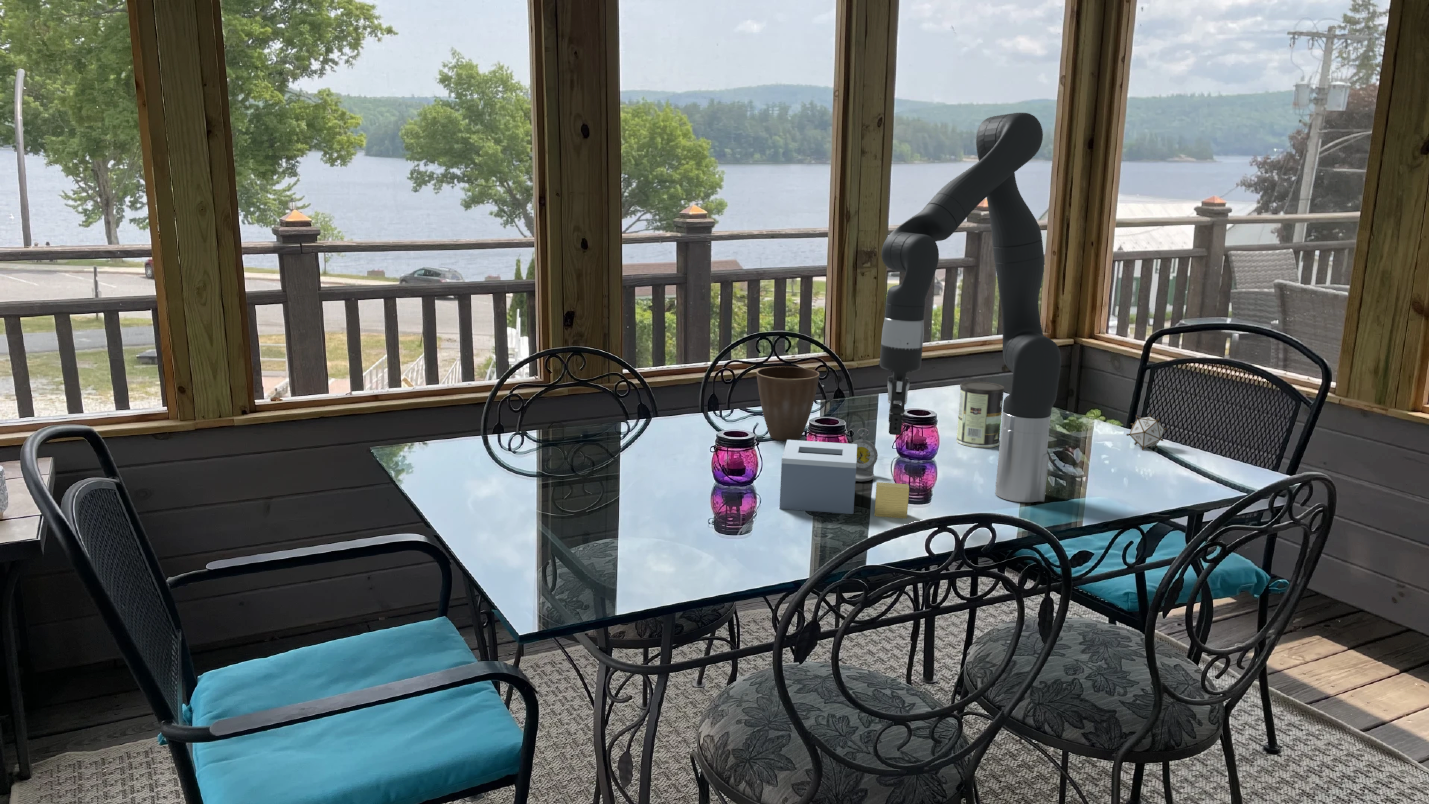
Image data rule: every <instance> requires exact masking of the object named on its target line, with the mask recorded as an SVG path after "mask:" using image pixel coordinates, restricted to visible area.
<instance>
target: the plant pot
mask: <svg viewBox="0 0 1429 804" xmlns="http://www.w3.org/2000/svg"><path fill="white" fill-rule="evenodd" d="M819 380H820V372H819V371H817V370H815V369H814V370H813V369H811V368H806V367H798V366H768V367H762V368H759V369H758V370H757V371H756V381H757V387H758V394H759V401H760V405H761V406H760V407H761V411H762V415H763V417H764V422H765V425H766V429H767V431H768V434H769V437H770V438H771V439H773V440H776V441H780V442H781V441H782V442H787V440H800V439H801V438H802V436H803V434H804V432H805V430H806V426H807V424H808V421H809V418H810V415H811V413H812V410H813V406H814V403H815V399H816V394H817V390H818V385H819Z"/></svg>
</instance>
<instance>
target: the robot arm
mask: <svg viewBox="0 0 1429 804" xmlns="http://www.w3.org/2000/svg"><path fill="white" fill-rule="evenodd" d="M975 136H976V137H975V140H976V141H975V146H976V148H975V149H976V153H977V159H978V161H977V162H976V163H974V165H972V166H971V167H969V168H968V169H966V170H965V171H963V172H962V173H961V174H959V175H957V176H956V177H954V178H953V179H952V180H950V181H948V182H947V183H946V184H945V185H944V186H943V187H942V188H941V189H940V190H939V191H938V192H937V193H936V194H935V195H934V196H933V197H932V198H931V199H930V201H928V203H927V204H926V205H925V206H924V207H923V208H922V210H921V211H920V212H918V213H916V214H914V215H913V216H912V217H910V218H909V219H907V220H905V221H904V222H903V223H901V224H900V225H899V226H897V227H896V228H895V229H893V230H892V231H891V232H890V233H889V234H888V236H887V237H886V239H885V241H884V242H883V244H882V248H881V259H882V262H883V264H884V265H885V266H886V267H887V268H889V269H890V270H893V271H897V272H902V273H903V272H904V276H903V277H904V278H903V280H902V282H901V284H897V285H893V286H890V287H889V289H888V290H887V293H886V298H885V300H886V301H885V311H884V320H883V325H882V331H881V340H880V341H881V342H880V350H879V351H880V353H879V354H880V356H879V363H878V364H879V366H880V368H881V369H884V370H887V371H891V376H888V377H887V387H886V388H887V403H888V404H889V411H888V413H889V414H888V434H889V435H892V436H900V435H901V434H902V427H903V425H902V424H903V416H904V414H905V412H906V409H905V405H907V403H908V393H909V390H910V386H911V385H910V384H911V383H910V382H911V381H910V377H906V375H907V373H909V372H910V373H911V372H912V373H914V372H917V371H920V370H921V367H922V359H923V358H922V356H923V346H924V337H925V335H924V334H925V328H924V327H925V326H924V321H925V320H924V319H925V310H926V309H925V307H926V298H927V297H928V296H927V295H928V293H929V290H930V288H931V286H932V282H933V280H934V276H935V273H936V271H937V267H938V265H939V260H940V258H939V256H940V253H939V248H938V247H939V246H938V244H937V242H942V241H944V240H947V239H948V238H950V237H951V236H952V235H953V234H954V233H955V231H956V230H958V228H959V227H961V225H962V224H963V222H964V221H965V220H966V219H967V218H968V217H969V216H970V214H971V213H972V212H973V211H974V210H975V209H976V208H977V207H978V205H979V204H980V203H982V202H983V201H984V200H985V199H986V202H987V209H988V214H989V221H990V228H991V230H990V231H991V241H992V242H991V243H992V249H993V250H992V251H993V253H992V254H993V258H994V259H993V260H994V267H995V271H996V280H997V287H998V294H999V299H1000V305H1001V316H1002V317H1001V318H1002V319H1001V321H1002V357H1003V361H1004V363H1005V366H1006V367H1007V369H1008V370H1009V371H1010V372H1011V373H1012V381H1011V389H1010V392H1009V394H1008V395H1007V396H1005V398H1003V404H1002V415H1001V426H1000V438H999V445H998V446H999V448H998V459H997V469H996V481H995V492H994V493H995V495H996V496H998V498H1000V499H1004V500H1007V501H1009V502H1010V501H1011V502H1016V503H1017V502H1018V503H1034V502H1045V497H1046V488H1047V486H1046V485H1047V478H1048V469H1049V459H1050V457H1049V454H1048V444H1049V433H1050V426H1051V415H1052V410H1053V409H1052V408H1053V406H1054V404H1055V403H1056V400H1057V398H1058V397H1057V395H1058V389H1059V383H1060V382H1059V381H1060V375H1061V367H1062V354H1061V350H1060V348H1059V346H1058V344H1057V343H1056V342H1055V341H1054V340H1053V339H1051V338H1049V337H1047V336H1046V335H1044V333H1043V328H1042V324H1041V315H1040V310H1039V300H1040V299H1039V298H1040V292H1041V287H1042V284H1043V283H1042V282H1043V277H1044V271H1045V252H1044V244H1043V235H1042V231H1041V228H1040V225H1039V223H1038V221H1037V219H1036V217H1035V215H1034V214H1033V212H1032V211H1031V209H1030V208H1029V206H1028V205H1027V203H1026V201H1025V200H1024V198H1023V197H1022V194H1021V192H1020V191H1019V187H1018V185H1017V184H1018V183H1017V180H1016V174H1015V173H1016V172H1017V171H1018V170H1019V169H1021V168H1022V167H1023V166H1025V165H1026V164H1027V163H1028V162H1030V161H1031V160H1032V159H1033V158H1035V156H1036V155H1037V153H1039V150H1040V149H1041V147H1042V143H1043V140H1044V139H1043V138H1044V131H1043V127H1042V124H1041V122H1040V121H1039V119H1038V118H1037V117H1036V116H1035V115H1034V114H1032V113H1028V112H1013V113H1007V114H1000V115H994V116H990V117H987V118H985V119H984V120H982V122H981V123H980V125H978V128H977V131H976V135H975Z"/></svg>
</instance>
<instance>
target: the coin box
mask: <svg viewBox="0 0 1429 804" xmlns="http://www.w3.org/2000/svg"><path fill="white" fill-rule="evenodd" d="M785 442H786V443H785V446H784V449H783V453H782V457H781V470H780V487H779V488H780V489H779V491H780V493H779V509H780V510H794V511H806V512H821V513H836V514H847V515H853V514H854V511H855V510H854V508H855V507H854V506H855V495H856V494H855V491H856V481H855V479H856V462H857V460H858V459H857V457H858V456H857V444H851V443H845V442H831V441H829V442H828V441H827V442H826V441H816V440H815V441H814V440H813V441H812V440H800V439H799V440H787V441H785Z"/></svg>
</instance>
